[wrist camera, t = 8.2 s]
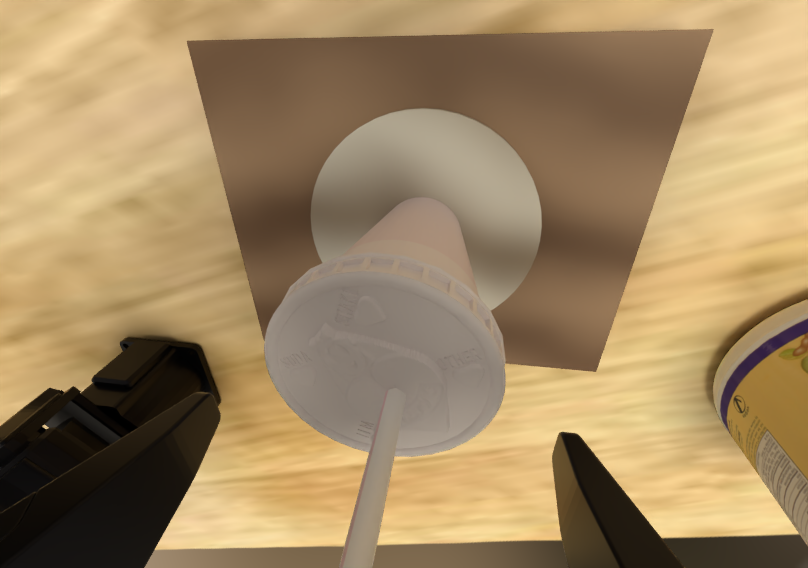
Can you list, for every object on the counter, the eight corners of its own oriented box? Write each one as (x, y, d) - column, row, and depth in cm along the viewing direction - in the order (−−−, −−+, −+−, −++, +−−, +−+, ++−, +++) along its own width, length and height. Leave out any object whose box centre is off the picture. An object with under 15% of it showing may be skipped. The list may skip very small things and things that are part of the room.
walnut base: (585, 346, 23) (598, 378, 21) (279, 320, 25) (260, 345, 23) (682, 33, 15) (722, 28, 12) (216, 43, 17) (178, 40, 15)
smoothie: (427, 313, 20) (363, 678, 8) (332, 237, 19) (81, 545, 7) (520, 231, 17) (639, 627, 5) (414, 133, 15) (224, 358, 4)
